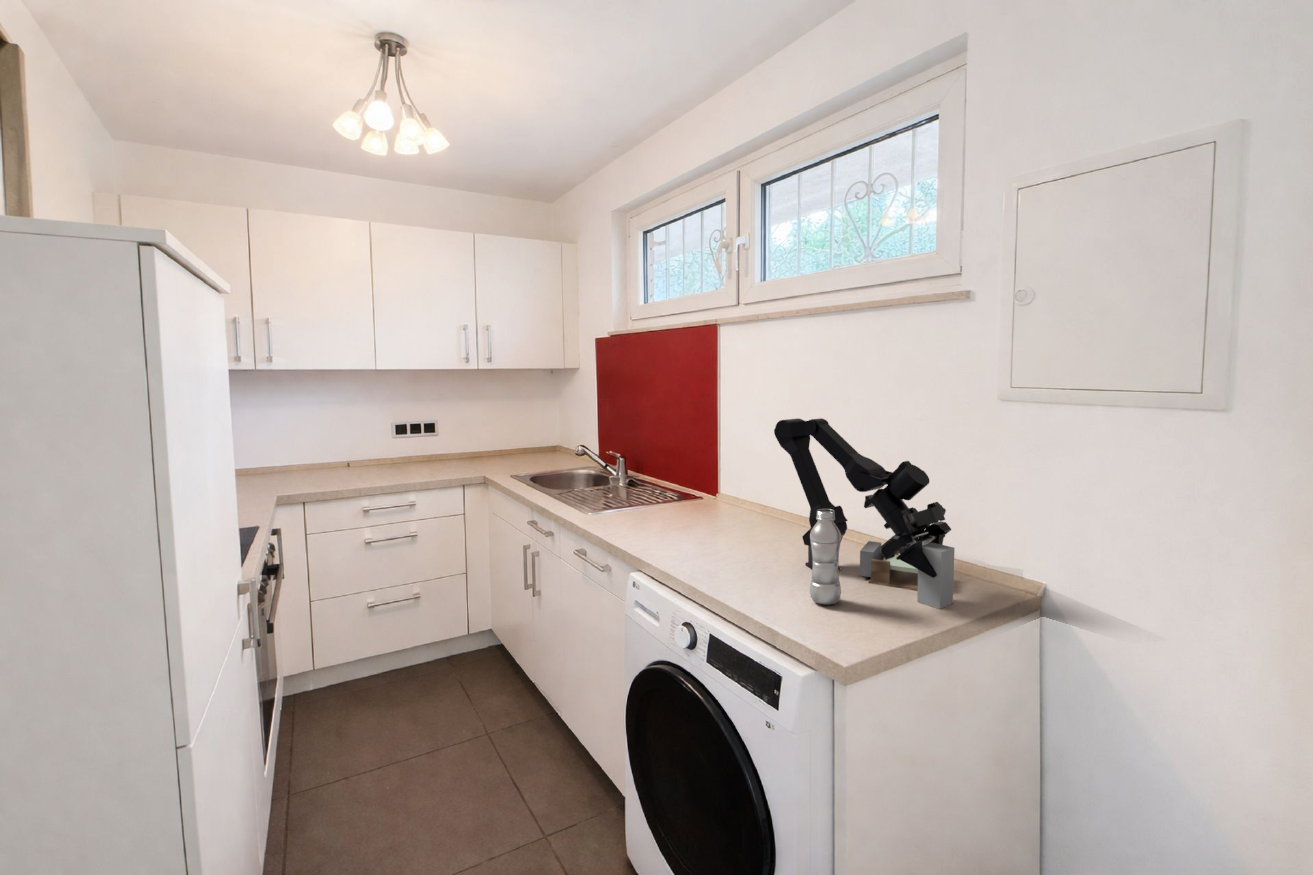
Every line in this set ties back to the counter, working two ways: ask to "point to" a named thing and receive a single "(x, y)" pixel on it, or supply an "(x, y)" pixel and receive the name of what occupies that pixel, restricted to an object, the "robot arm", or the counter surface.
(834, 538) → the plastic bottle
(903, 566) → the trapdoor
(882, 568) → the frame
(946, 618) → the counter surface
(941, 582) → the grey rectangular block
